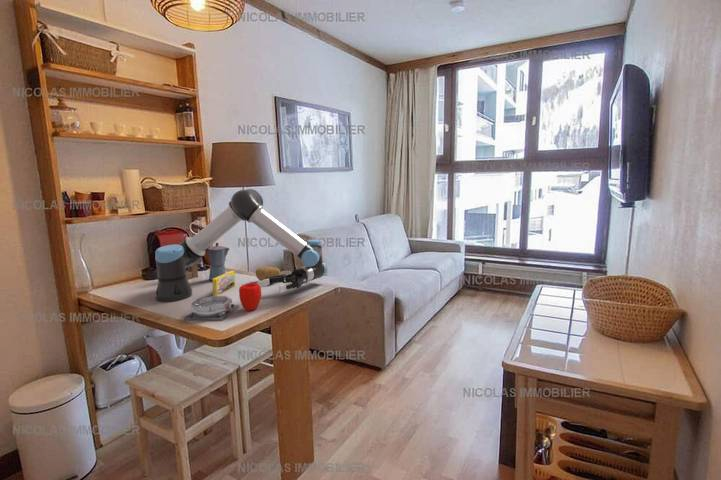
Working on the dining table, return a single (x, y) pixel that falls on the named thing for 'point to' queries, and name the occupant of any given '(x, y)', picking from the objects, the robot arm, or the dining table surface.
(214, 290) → the candy box
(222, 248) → the moka pot
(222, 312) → the rosette stand
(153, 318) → the dining table surface
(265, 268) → the potato
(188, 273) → the wooden block
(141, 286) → the dining table surface
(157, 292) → the robot arm
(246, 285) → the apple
